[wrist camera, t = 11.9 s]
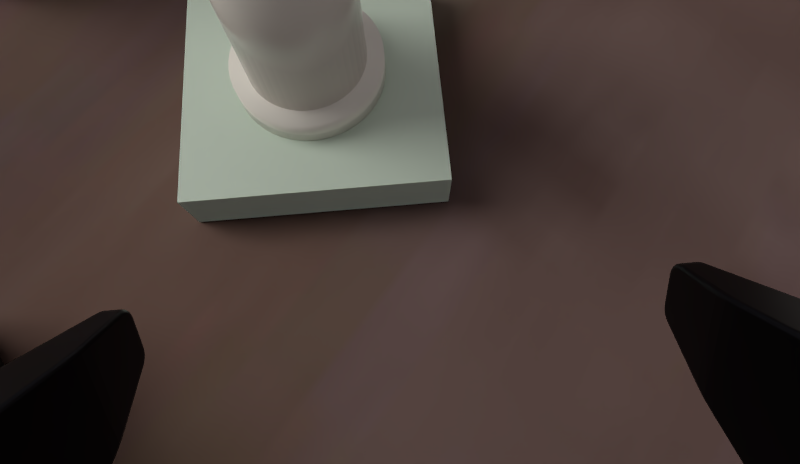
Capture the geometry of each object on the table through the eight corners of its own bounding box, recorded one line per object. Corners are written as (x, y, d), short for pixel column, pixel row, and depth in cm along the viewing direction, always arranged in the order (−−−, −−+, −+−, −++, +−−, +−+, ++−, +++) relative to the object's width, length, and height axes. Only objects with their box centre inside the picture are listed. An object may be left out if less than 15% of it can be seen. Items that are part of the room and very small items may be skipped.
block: (448, 201, 24) (451, 179, 22) (199, 222, 24) (177, 202, 22) (425, -2, 28) (426, -40, 25) (207, 16, 28) (188, -20, 25)
